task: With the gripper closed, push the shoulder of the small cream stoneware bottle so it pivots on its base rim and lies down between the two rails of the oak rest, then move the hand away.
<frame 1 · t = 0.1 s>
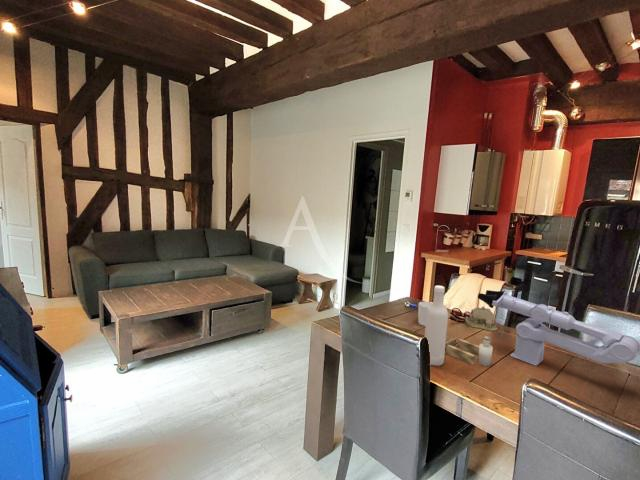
hand: (482, 294, 145), 22 cm above the table, tool horizontal, fingers open, 7 cm apart
u rest: (465, 355, 134), on the table
white cup: (425, 323, 165), on the table
bottle: (484, 362, 128), on the table
ceramic model: (480, 326, 165), on the table
bottle 2: (432, 361, 129), on the table
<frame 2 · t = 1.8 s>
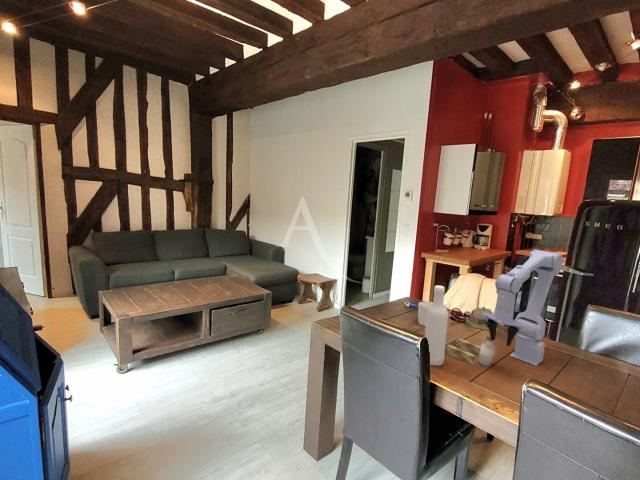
hand: (500, 342, 123), 10 cm above the table, tool pointing down, fingers open, 5 cm apart
bottle: (484, 362, 128), on the table, tilted 6°, touching gripper
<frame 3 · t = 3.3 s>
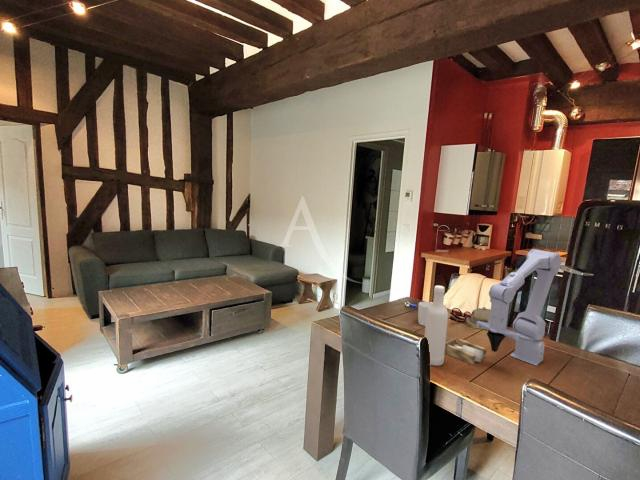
hand: (494, 350, 125), 6 cm above the table, tool pointing down, fingers closed
bottle: (481, 356, 129), point 2 cm above the table, tilted 90°
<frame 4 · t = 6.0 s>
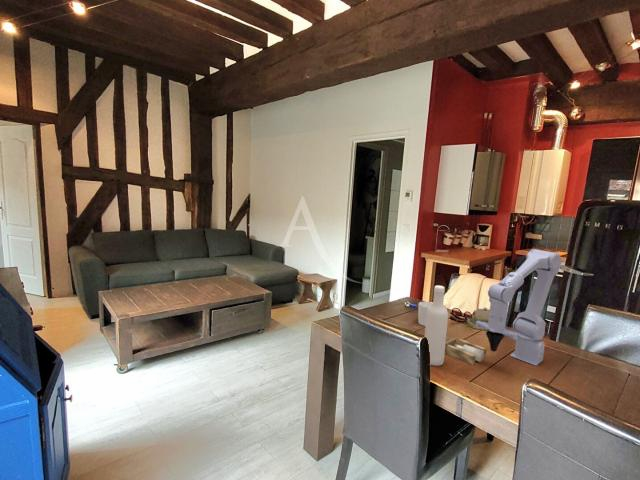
hand: (493, 350, 125), 6 cm above the table, tool pointing down, fingers closed
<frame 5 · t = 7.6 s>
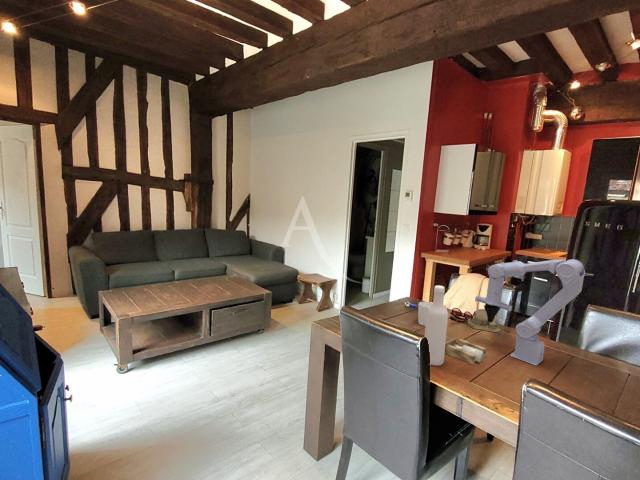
hand: (490, 321, 143), 10 cm above the table, tool pointing down, fingers closed
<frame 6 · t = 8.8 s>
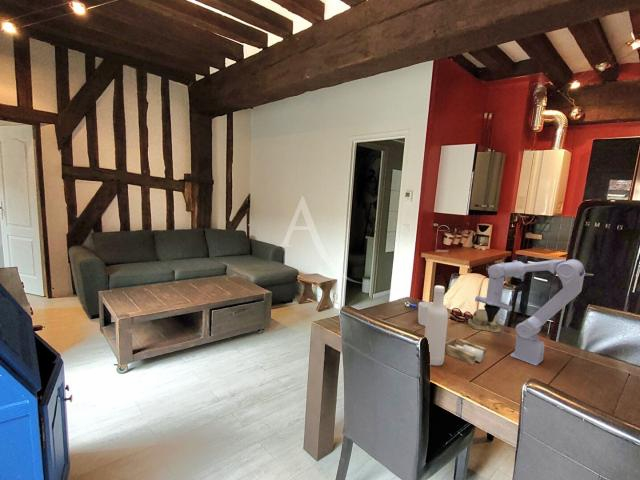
hand: (490, 321, 143), 10 cm above the table, tool pointing down, fingers closed
at the end: bottle tilted 90°; bottle inside the target area (2.4 cm from its centre), point 2.2 cm above the table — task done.
